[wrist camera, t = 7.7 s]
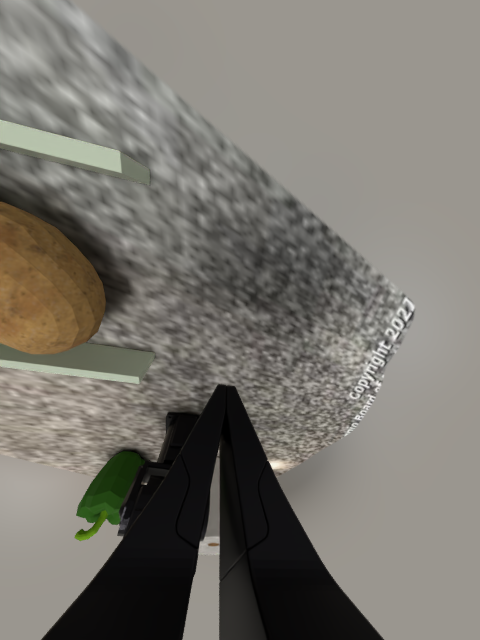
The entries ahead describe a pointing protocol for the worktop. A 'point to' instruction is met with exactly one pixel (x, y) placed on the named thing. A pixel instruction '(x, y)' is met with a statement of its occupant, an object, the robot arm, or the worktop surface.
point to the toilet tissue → (213, 517)
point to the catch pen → (85, 356)
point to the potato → (44, 287)
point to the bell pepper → (108, 492)
